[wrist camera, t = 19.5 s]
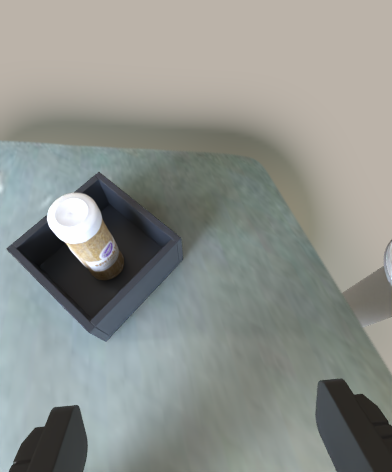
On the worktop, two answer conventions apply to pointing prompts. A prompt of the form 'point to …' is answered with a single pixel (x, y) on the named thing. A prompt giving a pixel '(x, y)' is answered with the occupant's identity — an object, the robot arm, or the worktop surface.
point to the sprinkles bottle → (86, 234)
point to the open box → (79, 277)
